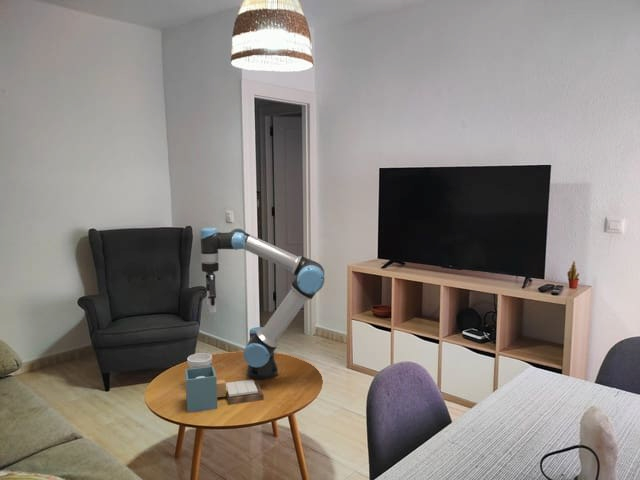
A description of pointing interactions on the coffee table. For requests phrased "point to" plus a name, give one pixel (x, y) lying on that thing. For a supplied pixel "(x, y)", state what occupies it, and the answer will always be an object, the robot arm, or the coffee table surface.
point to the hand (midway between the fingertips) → (211, 308)
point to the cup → (199, 360)
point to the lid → (236, 388)
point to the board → (246, 396)
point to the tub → (201, 389)
